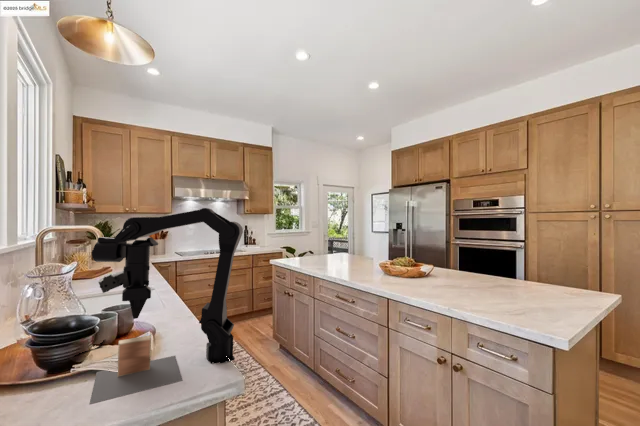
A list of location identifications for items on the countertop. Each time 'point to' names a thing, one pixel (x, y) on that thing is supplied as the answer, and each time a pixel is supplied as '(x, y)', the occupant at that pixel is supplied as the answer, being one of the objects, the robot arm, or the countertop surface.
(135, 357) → the cream rectangular block
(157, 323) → the countertop surface
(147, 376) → the mat
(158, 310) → the countertop surface
